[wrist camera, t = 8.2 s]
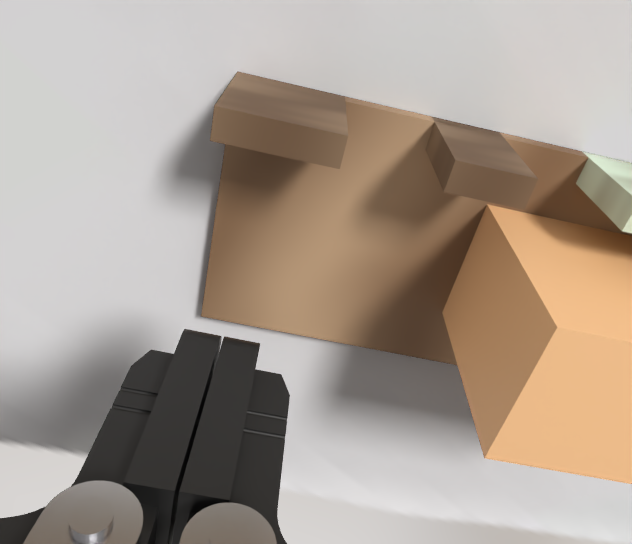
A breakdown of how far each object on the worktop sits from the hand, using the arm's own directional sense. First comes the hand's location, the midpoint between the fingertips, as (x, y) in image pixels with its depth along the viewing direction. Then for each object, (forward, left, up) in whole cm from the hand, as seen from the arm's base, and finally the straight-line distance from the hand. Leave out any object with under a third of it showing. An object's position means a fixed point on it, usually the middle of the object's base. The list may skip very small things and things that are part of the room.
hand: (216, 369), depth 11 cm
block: (-10, 0, -7) cm, 12 cm away
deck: (-7, 0, -7) cm, 10 cm away
